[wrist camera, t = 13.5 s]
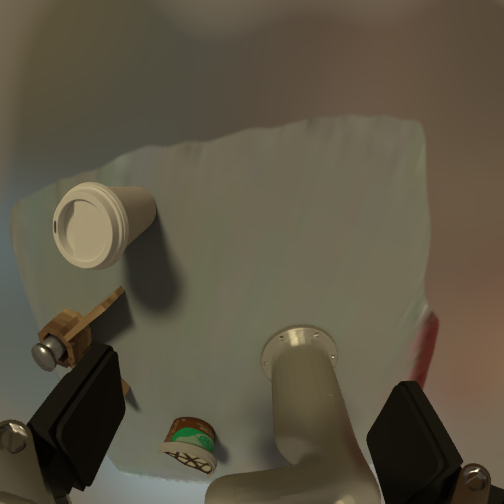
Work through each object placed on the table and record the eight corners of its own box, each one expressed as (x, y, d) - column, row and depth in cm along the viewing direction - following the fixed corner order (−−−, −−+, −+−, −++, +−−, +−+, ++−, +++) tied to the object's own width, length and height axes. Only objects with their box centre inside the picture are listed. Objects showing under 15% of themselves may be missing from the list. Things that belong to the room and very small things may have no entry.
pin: (87, 333, 47) (58, 366, 36) (75, 343, 48) (46, 375, 37) (71, 312, 46) (38, 341, 35) (59, 323, 47) (27, 352, 36)
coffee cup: (124, 165, 39) (63, 168, 24) (177, 196, 40) (134, 212, 25) (100, 221, 41) (39, 247, 27) (149, 252, 42) (102, 292, 28)
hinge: (183, 358, 47) (174, 384, 40) (117, 393, 51) (105, 415, 44) (107, 269, 43) (86, 285, 36) (52, 321, 47) (33, 338, 40)
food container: (233, 433, 52) (229, 470, 43) (215, 443, 54) (209, 479, 44) (184, 404, 50) (173, 441, 41) (168, 416, 52) (156, 452, 42)
